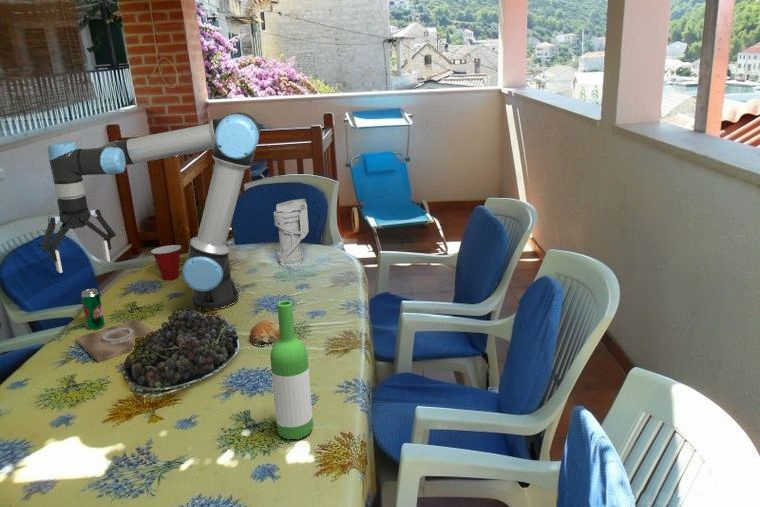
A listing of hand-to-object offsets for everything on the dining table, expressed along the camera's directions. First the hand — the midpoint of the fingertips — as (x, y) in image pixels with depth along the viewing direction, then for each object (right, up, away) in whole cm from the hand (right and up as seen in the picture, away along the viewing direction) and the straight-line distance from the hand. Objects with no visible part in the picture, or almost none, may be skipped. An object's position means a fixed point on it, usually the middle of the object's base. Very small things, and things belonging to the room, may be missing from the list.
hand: (84, 266), depth 179 cm
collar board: (+12, -22, -4) cm, 26 cm away
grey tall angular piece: (+54, 0, +61) cm, 82 cm away
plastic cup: (+9, -6, +48) cm, 49 cm away
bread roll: (+56, -22, -6) cm, 61 cm away
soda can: (+1, -19, +6) cm, 20 cm away
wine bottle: (+70, -35, -50) cm, 93 cm away
